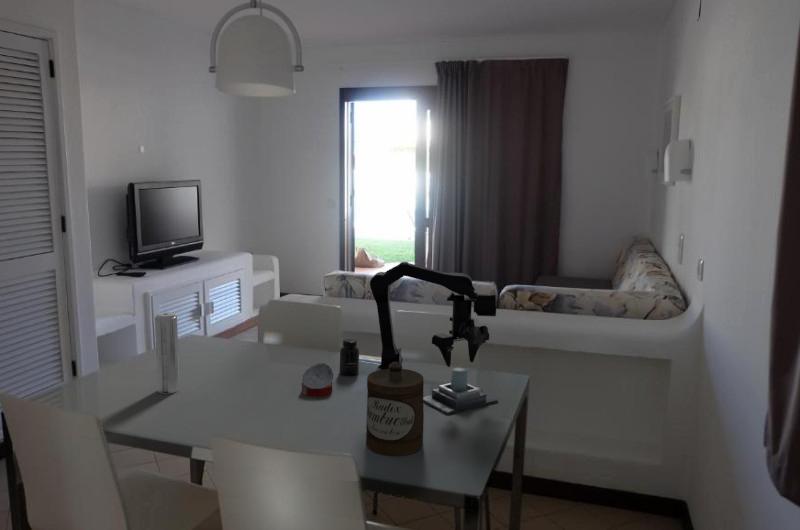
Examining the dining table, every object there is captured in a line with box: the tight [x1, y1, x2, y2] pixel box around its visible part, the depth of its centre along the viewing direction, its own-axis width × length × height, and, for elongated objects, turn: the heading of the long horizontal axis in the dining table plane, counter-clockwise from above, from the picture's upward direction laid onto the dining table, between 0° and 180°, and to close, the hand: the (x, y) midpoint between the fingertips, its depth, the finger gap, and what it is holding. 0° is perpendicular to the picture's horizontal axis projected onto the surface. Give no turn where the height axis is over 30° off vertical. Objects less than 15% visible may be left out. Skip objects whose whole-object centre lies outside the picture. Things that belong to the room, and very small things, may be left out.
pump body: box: [450, 367, 469, 393], centre depth 190 cm, size 5×5×7 cm
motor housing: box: [423, 382, 499, 416], centre depth 190 cm, size 20×14×4 cm
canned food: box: [301, 363, 334, 398], centre depth 196 cm, size 11×10×10 cm
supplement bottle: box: [338, 338, 360, 377], centre depth 214 cm, size 7×7×12 cm
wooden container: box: [365, 362, 425, 457], centre depth 158 cm, size 15×15×22 cm
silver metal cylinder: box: [154, 312, 180, 395], centre depth 193 cm, size 6×6×25 cm
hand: (460, 364), depth 189 cm, fingers open, 9 cm apart
